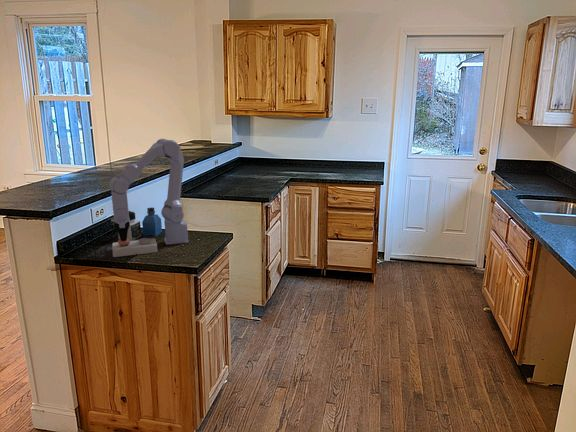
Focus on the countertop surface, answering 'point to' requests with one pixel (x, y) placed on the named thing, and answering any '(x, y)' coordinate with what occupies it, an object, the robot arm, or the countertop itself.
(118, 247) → the panel
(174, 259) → the countertop surface
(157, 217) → the perfume bottle
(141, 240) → the grey button
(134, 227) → the medicine bottle
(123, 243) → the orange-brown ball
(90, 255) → the countertop surface
